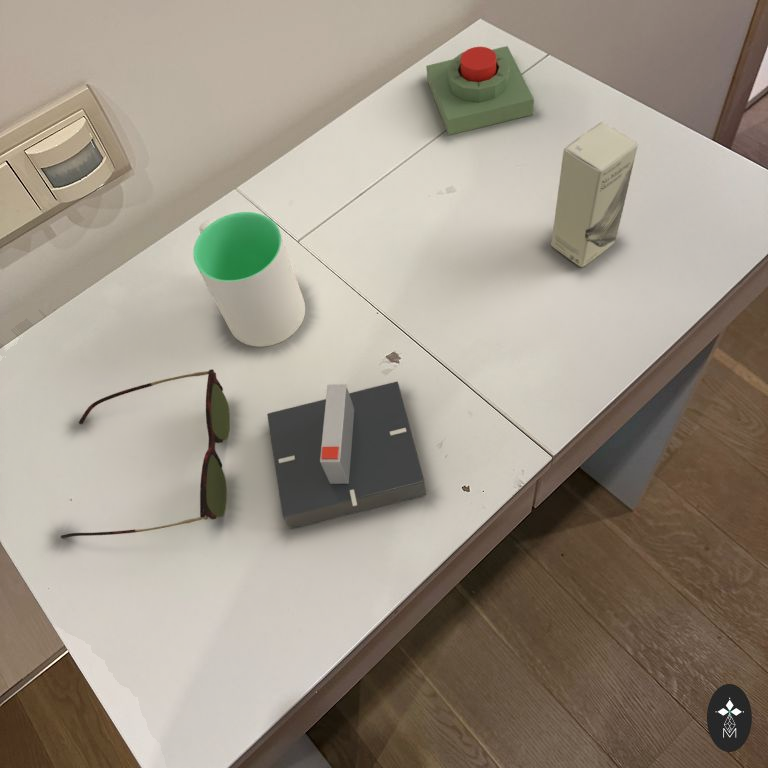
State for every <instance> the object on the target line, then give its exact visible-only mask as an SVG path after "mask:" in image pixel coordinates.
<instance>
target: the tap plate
mask: <svg viewBox="0 0 768 768" xmlns="http://www.w3.org/2000/svg"><path fill="white" fill-rule="evenodd" d="M349 394H350V398H351V401H352V404H353V407H354V422H353V435H352V448H351V461H350V474H349V484H330V482H329V480H328V478H327V476H326V474H325V471H324V469H323V467H322V465H321V463H320V455H321V445H322V435H323V425H324V415H325V405H326V398H324V399H319V400H317V401H311V402H309V403H304V404H300V405H297V406H293V407H288V408H284V409H280V410H276V411H272V412H268V413H267V414H266V415H267V421H268V429H269V435H270V442H271V448H272V454H273V460H274V469H275V473H276V479H277V486H278V492H279V499H280V507H281V514H282V517H283V519H284V520H285V522H286V523H287V525H288V526H289V528H290V529H296V528H300V527H305V526H308V525H313V524H316V523H319V522H325V521H328V520H333V519H336V518H339V517H345V516H348V515H353V514H355V513H360V512H363V511H367V510H372V509H376V508H380V507H384V506H388V505H393V504H396V503H400V502H405V501H408V500H411V499H416V498H420V497H424V496H427V495H428V493H427V487H426V482H425V477H424V474H423V472H422V471H423V470H422V466H421V463H420V459H419V456H418V452H417V448H416V445H415V444H416V443H415V440H414V436H413V432H412V429H411V426H410V423H409V422H410V421H409V418H408V414H407V411H406V407H405V403H404V400H403V395H402V392H401V388H400V383H399V382H398V381H393V382H388V383H384V384H381V385H376V386H373V387H369V388H368V387H367V388H365V389H364V388H363V389H361V390H357V391H352V392H349Z"/></svg>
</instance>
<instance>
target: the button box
mask: <svg viewBox="0 0 768 768" xmlns="http://www.w3.org/2000/svg"><path fill="white" fill-rule="evenodd" d="M492 50H493V51H494V52H495V54H496V73H495V75H494V76H493V77H492V78H491V79H489V80H486V81H482V82H472V81H467V80H466V79H464V78H463V77H462V75H461V62H460V59H461V56H462V54H463V53H464V52H465V51H463V52H461V53H460V54H458V55H457V56H455V57H454V58H452V59H448V60H444V61H440V62H436V63H432V64H428V65H426V66H425V69H426V79H427V84H428V86H429V88H430V91H431V94H432V96H433V99H434V101H435V105H436V107H437V110H438V112H439V115H440V117H441V120H442V122H443V124H444V127H445V130H446V133H447V135H448V136H451V135H455V134H460V133H464V132H468V131H471V130H475V129H480V128H484V127H488V126H492V125H495V124H500V123H504V122H508V121H513V120H516V119H520V118H525V117H529V116H533V115H534V102H535V99H534V97H533V94H532V92H531V91H530V88H529V87H528V85H527V83H526V80H525V79H524V76H523V74H522V72H521V70H520V68H519V66H518V65H517V62H516V60H515V57H514V56H513V54H512V52H511V50H510V48H509V46H508V45H505V46H502V47H496V48H493V49H492Z"/></svg>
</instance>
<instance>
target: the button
mask: <svg viewBox="0 0 768 768" xmlns="http://www.w3.org/2000/svg"><path fill="white" fill-rule="evenodd" d="M463 52H464V53H463ZM463 52H462V53H463V54H462V56H461V59H460V62H461V75H462V77H463V78H464V79H466V80H467V81H472V82H482V81H486V80H489V79H491V78H492V77H493V76H494V75H495V73H496V54H495V52H494V51H493V49H491V48H489V47H486V46H474V47H470V48H468V49H466V50H464V51H463Z"/></svg>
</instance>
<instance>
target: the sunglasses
mask: <svg viewBox="0 0 768 768" xmlns="http://www.w3.org/2000/svg"><path fill="white" fill-rule="evenodd" d="M206 375H207V382H206V391H205V421H206V422H205V423H206V430H207V435H208V447H207V450H206V452H205V454H204V457H203V462H202V466H201V475H200V486H199V487H200V492H199V517H195V518H189V519H185V520H182V521H178V522H175V523H171V524H165V525H160V526H155V527H149V528H142V529H141V528H139V529H127V530H115V531H95V532H72V533H66V534H62V535H60V538H61V539H67V538H72V537H84V536H85V537H87V536H88V537H89V536H110V535H111V536H113V535H124V534H134V533H142V532H148V531H154V530H160V529H165V528H171V527H175V526H181V525H185V524H190V523H194V522H195V523H196V522H199V521H202V520H204V521H206V520H208V518H209V519H211V520H217V519H221V518H223V517H224V516H225V514H226V509H227V500H228V499H227V497H228V490H227V489H228V487H227V479H226V475H225V473H224V469H223V463H222V461H221V458H220V457H219V455H218V453H217V450H216V444H222V443H224V442H225V441H226V440H227V439H228V438H229V435H230V428H231V427H230V426H231V416H230V415H231V413H230V406H229V402H228V399H227V396H226V395H225V393H224V387H223V386H222V385H221V383H220V381H219V380H218V378H217V373H216V372H215V370H214V369H212V368H210V369H209V370H206V371H197V372H193V373H188V374H183V375H178V376H173V377H169V378H165V379H161V380H160V379H159V380H156V381H152V382H149V383H146V384H141V385H137V386H133V387H131V388H127V389H123V390H121V391H118V392H115V393H113V394H110V395H108V396H105V397H102V398H100V399H98V400H96V401H94V402H93V403H91V404H90V405H89V406H88V407H87V408H86V410H85V412H84V413H82V416H81V418H80V419H79V421H78V424H79V425H80V424H81V425H83V423H85V420H86V419H87V418H88V416H89V414H90V413H91V412H92V411H93V409H94V408H95V407H97V406H98V405H100V404H103V403H104V402H107V401H109V400H112V399H115V398H117V397H120V396H123V395H126V394H130V393H133V392H135V391H139V390H143V389H147V388H150V387H153V386H156V385H159V384H162V383H166V382H171V381H175V380H180V379H186V378H191V377H192V378H193V377H200V376H201V377H202V376H206Z"/></svg>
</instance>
